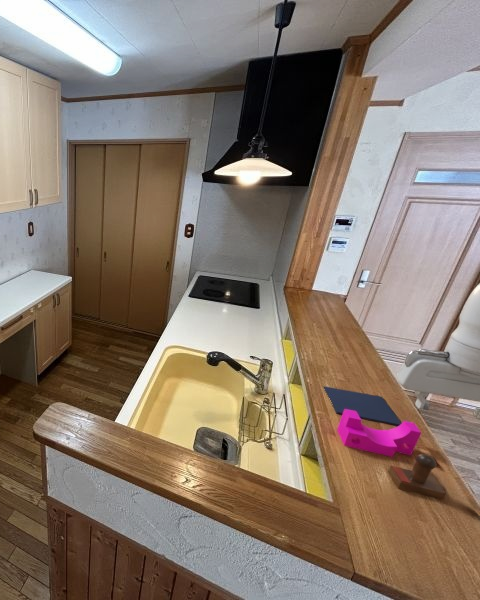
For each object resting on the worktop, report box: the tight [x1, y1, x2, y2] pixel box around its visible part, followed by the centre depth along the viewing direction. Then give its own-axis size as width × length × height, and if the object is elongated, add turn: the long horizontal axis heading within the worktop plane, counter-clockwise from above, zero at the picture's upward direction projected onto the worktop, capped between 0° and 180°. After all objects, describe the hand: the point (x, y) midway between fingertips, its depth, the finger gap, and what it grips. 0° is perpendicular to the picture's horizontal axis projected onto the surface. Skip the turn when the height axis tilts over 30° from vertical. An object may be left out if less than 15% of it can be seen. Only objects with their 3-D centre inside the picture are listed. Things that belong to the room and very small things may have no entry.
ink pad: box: [323, 385, 403, 427], centre depth 102 cm, size 16×14×1 cm
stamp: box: [387, 453, 447, 501], centre depth 74 cm, size 8×5×9 cm, turn 68°
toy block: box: [336, 409, 422, 458], centre depth 86 cm, size 15×6×8 cm, turn 68°
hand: (449, 412), depth 69 cm, fingers open, 8 cm apart
